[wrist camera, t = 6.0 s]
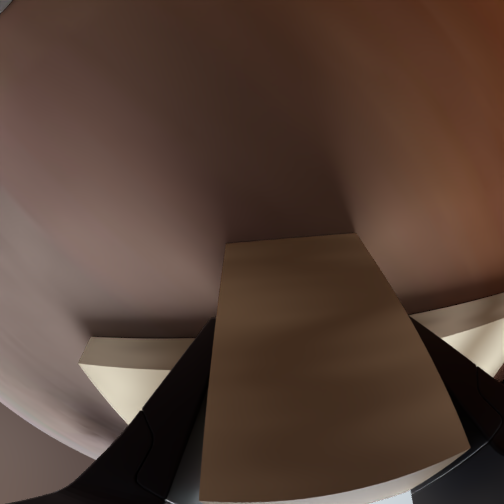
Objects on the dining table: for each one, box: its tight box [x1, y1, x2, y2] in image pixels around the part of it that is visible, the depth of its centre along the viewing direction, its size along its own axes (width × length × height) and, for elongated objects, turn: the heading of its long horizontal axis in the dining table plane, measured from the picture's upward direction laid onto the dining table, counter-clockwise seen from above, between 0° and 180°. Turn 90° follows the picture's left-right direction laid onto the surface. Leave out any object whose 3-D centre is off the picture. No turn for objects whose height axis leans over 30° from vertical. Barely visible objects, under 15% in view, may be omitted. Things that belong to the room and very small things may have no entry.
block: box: [199, 233, 470, 504], centre depth 9 cm, size 4×12×7 cm, turn 5°
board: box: [78, 293, 504, 425], centre depth 12 cm, size 22×10×2 cm, turn 95°
